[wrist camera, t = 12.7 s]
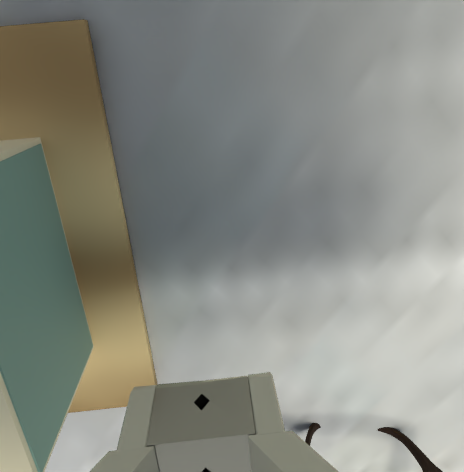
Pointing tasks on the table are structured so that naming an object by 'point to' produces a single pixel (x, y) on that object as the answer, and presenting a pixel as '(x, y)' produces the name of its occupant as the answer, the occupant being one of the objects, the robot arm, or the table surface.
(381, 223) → the table surface
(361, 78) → the table surface
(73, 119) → the mat
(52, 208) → the card box
